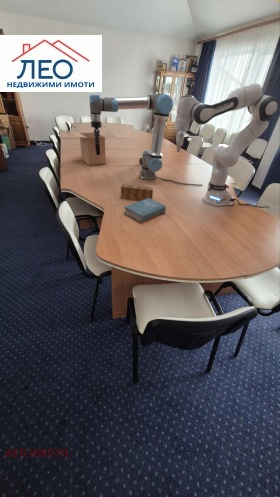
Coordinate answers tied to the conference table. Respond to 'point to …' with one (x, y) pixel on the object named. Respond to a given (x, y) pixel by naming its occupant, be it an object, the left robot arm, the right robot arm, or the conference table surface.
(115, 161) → the conference table surface
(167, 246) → the conference table surface
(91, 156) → the box
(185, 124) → the right robot arm
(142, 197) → the bar
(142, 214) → the book
